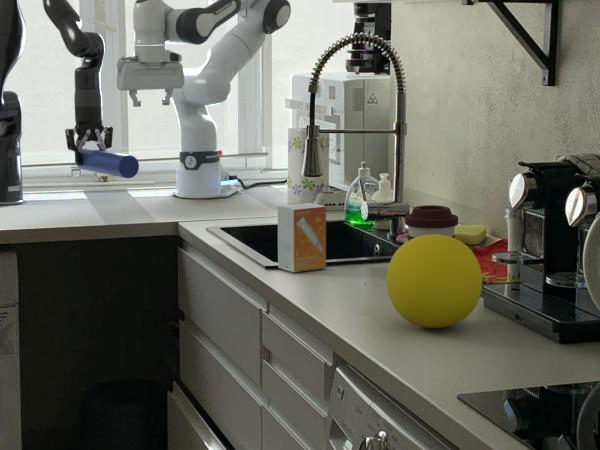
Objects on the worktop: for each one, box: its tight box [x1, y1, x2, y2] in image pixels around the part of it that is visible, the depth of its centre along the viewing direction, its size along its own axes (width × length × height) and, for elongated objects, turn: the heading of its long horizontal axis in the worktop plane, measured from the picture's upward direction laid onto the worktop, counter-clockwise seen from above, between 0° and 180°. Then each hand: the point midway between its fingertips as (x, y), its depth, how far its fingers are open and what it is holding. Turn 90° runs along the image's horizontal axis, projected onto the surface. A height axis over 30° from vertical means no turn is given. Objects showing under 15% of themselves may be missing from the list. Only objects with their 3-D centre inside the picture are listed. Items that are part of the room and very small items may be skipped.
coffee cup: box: [404, 204, 459, 241], centre depth 197 cm, size 10×10×15 cm
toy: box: [386, 234, 483, 329], centre depth 168 cm, size 15×15×15 cm
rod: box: [76, 147, 140, 179], centre depth 286 cm, size 24×6×6 cm, turn 40°
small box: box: [277, 202, 327, 273], centre depth 214 cm, size 8×6×13 cm
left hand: (90, 164), depth 293 cm, fingers closed on rod, 6 cm apart
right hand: (151, 106), depth 292 cm, fingers open, 8 cm apart
